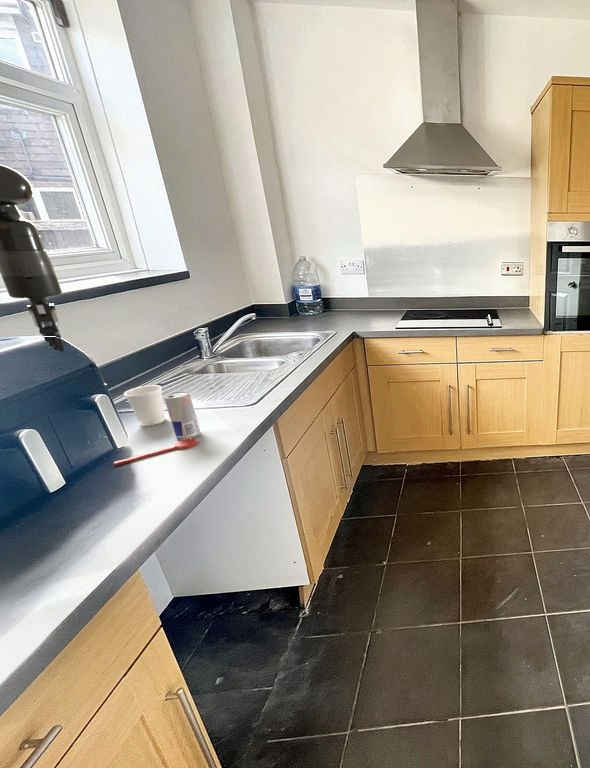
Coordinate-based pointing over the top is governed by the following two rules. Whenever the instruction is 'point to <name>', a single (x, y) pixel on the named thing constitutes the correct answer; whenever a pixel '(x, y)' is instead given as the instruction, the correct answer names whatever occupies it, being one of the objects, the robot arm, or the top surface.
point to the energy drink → (182, 415)
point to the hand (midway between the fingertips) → (57, 348)
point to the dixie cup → (147, 404)
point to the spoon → (160, 451)
